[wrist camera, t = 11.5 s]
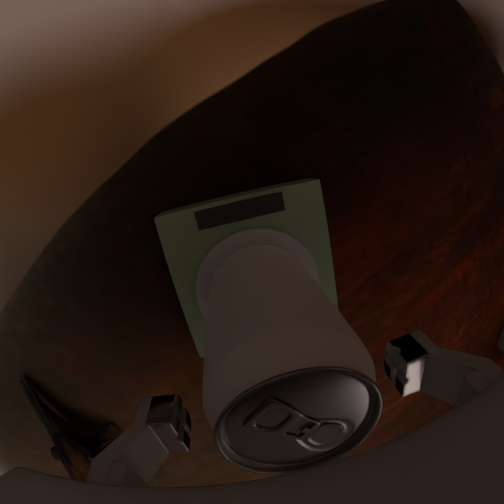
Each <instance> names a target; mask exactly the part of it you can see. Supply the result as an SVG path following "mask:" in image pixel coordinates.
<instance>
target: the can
mask: <svg viewBox="0 0 504 504" xmlns="http://www.w3.org/2000/svg"><path fill="white" fill-rule="evenodd" d="M202 397H203V408H204V413H205V416H206V418H207V421H208V423H209V424H210V426H211V428H212V429H213V431H214V441H215V445H216V447H217V449H218V451H219V452H220V454H221V455H222V456H223V457H224V458H225V459H226V460H227V461H229V462H230V463H232V464H233V465H235V466H237V467H239V468H241V469H244V470H247V471H250V472H254V473H259V474H268V475H285V474H289V473H294V472H298V471H302V470H306V469H310V468H314V467H317V466H321V465H324V464H328V463H331V462H334V461H336V460H338V459H340V458H341V457H343V456H345V455H346V454H348V453H349V452H351V451H352V450H353V449H355V448H356V447H357V446H358V445H360V444H361V443H362V442H363V441H364V440H365V439H366V438H367V437H368V435H369V434H370V433H371V432H372V430H373V429H374V427H375V426H376V424H377V422H378V420H379V418H380V415H381V412H382V405H383V400H382V394H381V391H380V389H379V387H378V386H377V384H376V375H375V367H374V363H373V360H372V358H371V356H370V354H369V352H368V350H367V349H366V347H365V346H364V344H363V343H362V341H361V340H360V338H359V337H358V336H357V334H356V333H355V332H354V330H353V329H352V328H351V326H350V325H349V324H348V322H347V321H346V320H345V318H344V317H343V316H342V314H341V313H340V312H339V311H338V309H337V308H336V307H335V305H334V304H333V303H332V302H331V300H330V299H329V298H328V296H327V295H326V294H325V293H324V291H323V290H322V289H321V287H320V286H319V285H318V284H317V282H316V281H315V280H314V279H313V277H312V276H311V275H310V274H309V272H308V271H307V270H306V269H305V268H304V266H303V265H302V264H301V263H300V262H299V261H298V260H297V259H296V258H295V257H294V256H293V255H292V254H290V253H289V252H287V251H285V250H283V249H281V248H278V247H275V246H270V245H254V246H249V247H246V248H243V249H240V250H238V251H236V252H235V253H233V254H231V255H230V256H229V257H228V258H226V259H225V260H224V261H223V262H222V264H221V265H220V266H219V268H218V269H217V271H216V273H215V275H214V277H213V280H212V284H211V290H210V298H209V308H208V319H207V330H206V342H205V355H204V370H203V396H202Z"/></svg>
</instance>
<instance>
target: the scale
mask: <svg viewBox="0 0 504 504" xmlns="http://www.w3.org/2000/svg"><path fill="white" fill-rule="evenodd" d="M154 220H155V224H156V228H157V231H158V235H159V238H160V242H161V245H162V248H163V252H164V255H165V258H166V261H167V265H168V268H169V271H170V274H171V277H172V280H173V283H174V286H175V289H176V292H177V295H178V298H179V301H180V304H181V307H182V310H183V313H184V316H185V318H186V321H187V324H188V327H189V330H190V332H191V335H192V338H193V340H194V343H195V346H196V348H197V351H198V353H199V356H200V358H202V357H204V355H205V342H206V330H207V319H208V308H209V298H210V290H211V284H212V280H213V277H214V275H215V273H216V271H217V269H218V268H219V266H220V265H221V264H222V262H223V261H224V260H225V259H226V258H228V257H229V256H230V255H231V254H233V253H235V252H236V251H238V250H240V249H243V248H246V247H249V246H254V245H270V246H275V247H278V248H281V249H283V250H285V251H287V252H289V253H290V254H292V255H293V256H294V257H295V258H296V259H297V260H298V261H299V262H300V263H301V264H302V265H303V266H304V268H305V269H306V270H307V271H308V272H309V274H310V275H311V276H312V277H313V279H314V280H315V281H316V282H317V284H318V285H319V286H320V287H321V289H322V290H323V291H324V293H325V294H326V295H327V296H328V298H329V299H330V300H331V302H332V303H333V304H334V305H335V307H336V308H337V309H338V303H337V293H336V284H335V276H334V268H333V260H332V253H331V246H330V239H329V232H328V225H327V219H326V213H325V207H324V201H323V195H322V190H321V184H320V180H319V179H313V178H305V179H300V180H295V181H290V182H285V183H281V184H276V185H271V186H266V187H262V188H257V189H253V190H248V191H244V192H240V193H235V194H231V195H227V196H223V197H219V198H214V199H210V200H206V201H202V202H198V203H195V204H191V205H187V206H183V207H179V208H175V209H172V210H168V211H164V212H162V213H160V214H159V215H157V216H156V217H155V218H154Z"/></svg>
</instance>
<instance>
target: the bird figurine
mask: <svg viewBox="0 0 504 504" xmlns="http://www.w3.org/2000/svg"><path fill="white" fill-rule="evenodd" d="M20 383H21V385H22V387H23V390H24V392H25V393H26V395H27V397H28V399H29V401H30V403H31V404H32V406H33V408H34V410H35V411H36V413H37V415H38V417H39V418H40V420H41V421H42V423H43V425H44V426H45V428H46V429H47V431H48V433H49V435H50V437H51V439H52V441H53V443H54V445H55V447H52V448H51V454H52V456H53V457H54V458H55V459H56V460H61V461H62V463H63V465H64V467H65V469H66V470H67V472H68V473H69V475H70V478H71V479H75V480H81V481H86V479H87V476H88V472H89V469H90V466H91V463H92V460H93V458H95V457H96V456H97V455H98V454H99V453H100V452H102V451H103V450H104V449H105V448H106V446H104V445H106V444H108V443H109V442H110V441H111V440H112V439H113V438H114V436H116V435H118V434H119V429H118V427H117V426H116V425H114V424H110V425H108V426H106V427H105V428H103V429H102V430H101V431H99V432H98V433H96V434H95V435H94V436H92V437H91V438H89V439H87V438H86V437H85V436H84V435H83V434H81V433H80V432H79V431H77V430H76V429H75V428H73V427H72V426H71V425H69V424H68V423H67V422H66V421H64V420H63V419H62V418H61V417H60V416H58V415H57V414H56V413H55V412H53V411H52V410H51V409H50V408H49V407H48V406H47V405H46V404H44V403H43V401H42V400H41V399H40V398H39V395H38V391H37V389H36V388H35V386H34V385H33V383H32V382H31V381H30V380H26V378H24V377H23V378H21V379H20Z"/></svg>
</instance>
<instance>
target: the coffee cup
mask: <svg viewBox="0 0 504 504" xmlns="http://www.w3.org/2000/svg"><path fill="white" fill-rule="evenodd" d="M498 347H499V349H500V350H501V351H502V352H503V353H504V328H503V330H502V332H501V334H500V337H499V340H498Z"/></svg>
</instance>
